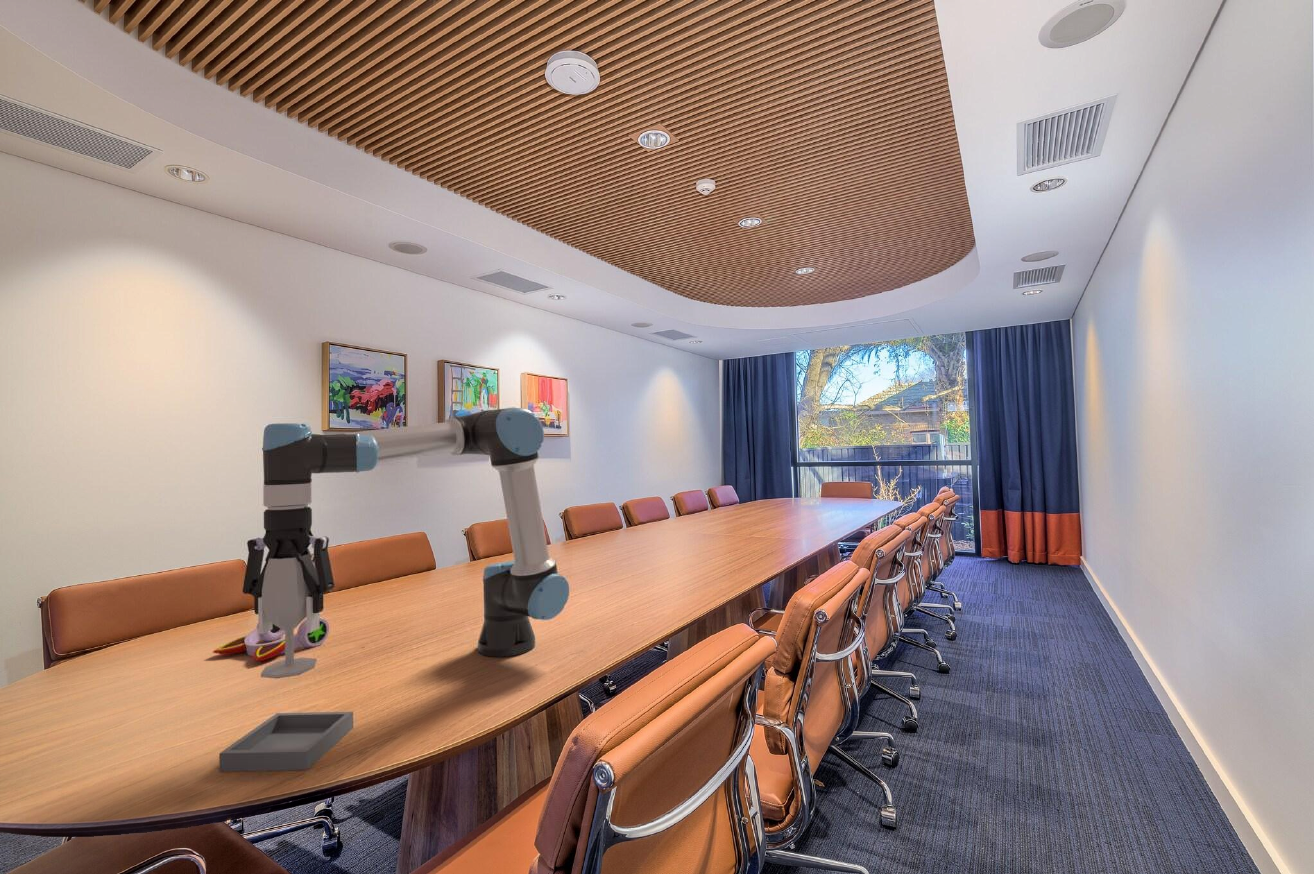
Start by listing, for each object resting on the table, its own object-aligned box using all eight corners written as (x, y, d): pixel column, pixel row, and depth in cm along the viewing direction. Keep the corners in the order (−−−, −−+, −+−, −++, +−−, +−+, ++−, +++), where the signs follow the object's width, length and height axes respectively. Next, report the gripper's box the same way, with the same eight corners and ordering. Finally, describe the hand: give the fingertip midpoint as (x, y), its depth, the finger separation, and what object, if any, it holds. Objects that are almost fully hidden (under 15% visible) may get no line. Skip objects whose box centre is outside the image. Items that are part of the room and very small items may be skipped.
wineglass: (278, 663, 111) (276, 552, 112) (326, 660, 112) (324, 550, 112) (250, 681, 103) (249, 561, 103) (302, 678, 103) (300, 559, 104)
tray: (353, 727, 115) (353, 711, 115) (307, 769, 100) (307, 751, 100) (277, 729, 115) (276, 713, 115) (219, 771, 100) (219, 753, 100)
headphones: (332, 614, 168) (262, 626, 149) (328, 650, 167) (258, 666, 148) (285, 608, 175) (213, 619, 157) (281, 642, 174) (208, 657, 156)
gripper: (355, 503, 112) (356, 623, 111) (246, 506, 112) (247, 625, 111) (333, 508, 104) (334, 636, 104) (216, 510, 104) (217, 638, 104)
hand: (289, 630), depth 107 cm, fingers closed on wineglass, 8 cm apart
